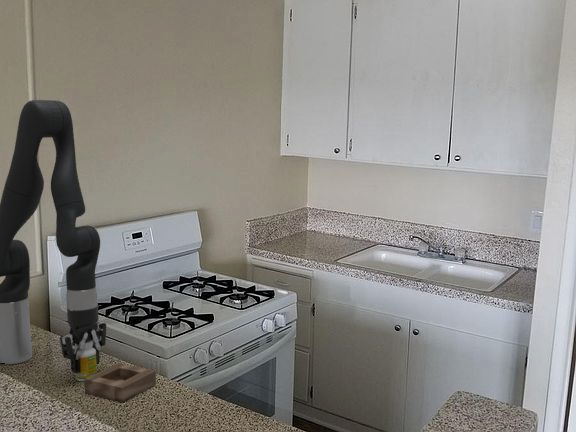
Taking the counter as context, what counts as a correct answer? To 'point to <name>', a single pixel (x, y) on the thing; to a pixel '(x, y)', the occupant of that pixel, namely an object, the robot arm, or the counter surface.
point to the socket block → (120, 382)
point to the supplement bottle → (87, 362)
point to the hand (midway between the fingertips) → (85, 368)
